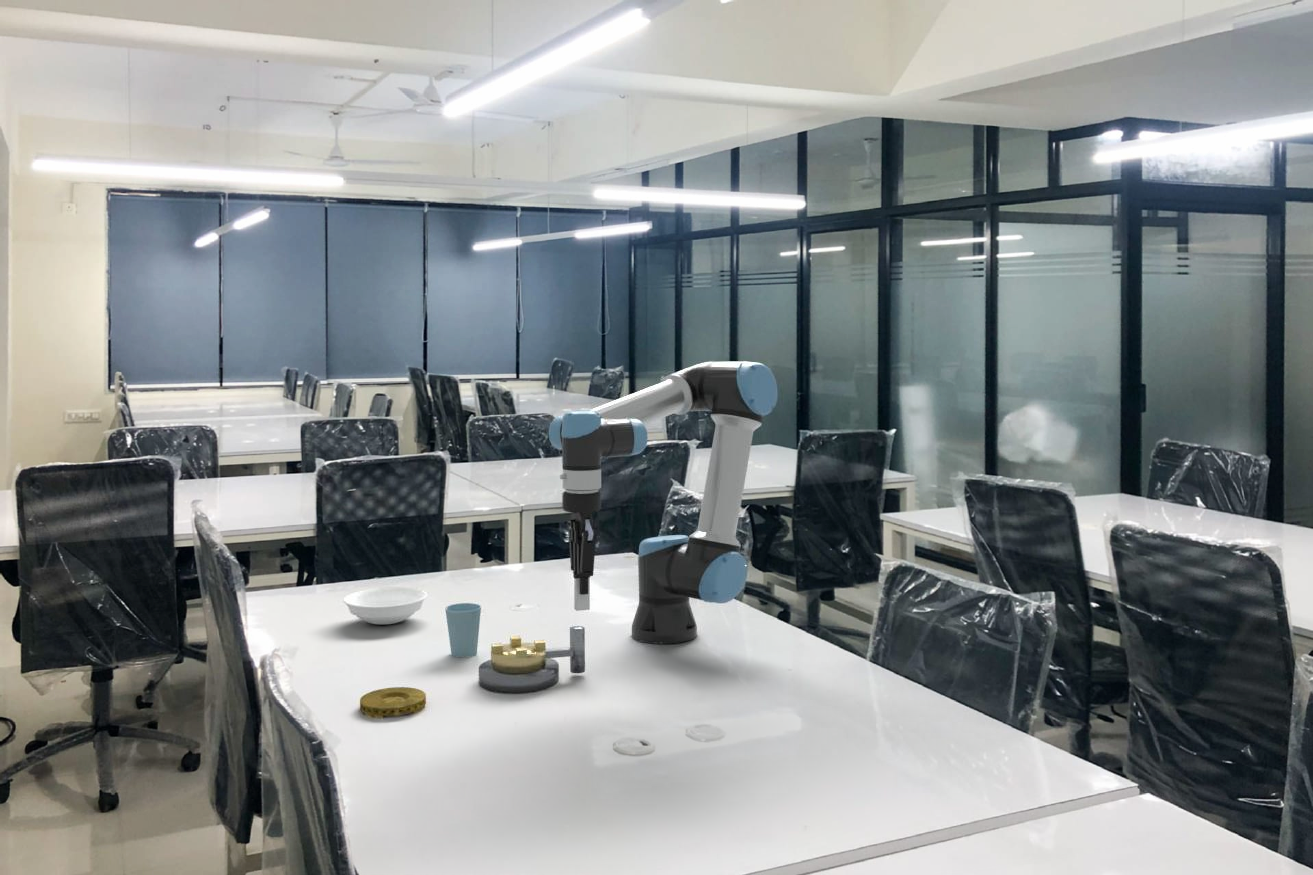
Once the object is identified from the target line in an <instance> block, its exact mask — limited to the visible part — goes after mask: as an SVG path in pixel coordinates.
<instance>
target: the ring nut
mask: <svg viewBox="0 0 1313 875" xmlns="http://www.w3.org/2000/svg"><path fill="white" fill-rule="evenodd" d="M585 629H586V628H585V627H584V626H582V625H574V626H570V627H569V646H565V647H552V648H551V647H550V648H546V641H545V639H538V640H537V639H534V640H533V642H522V638H521V636H520V635H513V636H509V643H505V644H502V642H500V643H499V642H498V643H497V642H496V643H491V644H490V645H491V648H490V660H491V667H492V669H493V670H495V671H498V672H502V673H528V672H533V671H537V670H540V669H542V668H544V667H545V666H546V658H551V659H555V658H566V657H569V666H570V669H569V670H570V673H571V674H583V673H584V672H586V649H585V648H586V647H585V646H586V642H585V641H586V640H585V639H586V638H585V633H586V632H585Z"/></svg>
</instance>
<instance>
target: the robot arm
mask: <svg viewBox="0 0 1313 875" xmlns="http://www.w3.org/2000/svg"><path fill="white" fill-rule="evenodd" d="M777 401H778V385H777V380H776V378H775V377H774V374H773V372H772V371H771V369H770V368H769V367H768V366H766V365H765V364H763V363H761V362H757V361H756V362H754V361H747V360H744V361H717V360H710V361H703V362H701V363H700V362H699V363H697V364H695V365H691V366H689V367H686V368H684V369H681V370H679V371H675V372H673V373H670V374H668V375H666V376H665V377H664V378H663V379H662V381H661V382H660V383H656V384H654V385H652V386H649V387H646V388H644V389H641V390H639V391H637V392H634V393H630V394H629V395H628V394H627V395H626V396H623V397H620V398H618V399H615V400H613V401H611V402H608V403H607V402H606V403H605V404H603V405H600V406H597V407H594V408H593V409H590V410H574V411H573V410H571V411H567V412H565V413H564V414H563V415H559V416H557V417H555V418H554V419H553V420H552V421H551V422H550V425H549V427H548V438H549V442H550V443H551V445H552V447H554V449H557V450H559V451H561V457H562V459H561V460H562V461H561V462H562V474H560V475H559V479H560V480H562V489H563V490H564V491H563V492H562V493H561V494H562V495H561V496H562V510H563V511H564V512H567V513H571V514H570V519H569V521H567V523H566V526H567V531H568V532H567V533H568V544H569V545H568V546H569V558H570V560H569V561H570V570H571V571H572V574H573V585H574V586H573V593H574V597H573V598H574V601H573V602H574V603H573V605H574V607H573V608H574V611H578V612H579V611H589V610H590V608H591V607H590V605H591V604H590V603H591V600H590V598H591V597H590V596H591V595H590V594H591V592H590V591H591V590H590V586H591V585H590V584H591V583H590V582H591V581H590V580H591V579H590V578H591V577H593V576H594V568H595V557H596V556H595V554H596V541H597V537H598V530H597V529H595V521H594V520H593V513H595V512H599V511H600V510H601V508H602V493H601V492H600V491H599V490H600V489H601V488H602V459H605V458H618V457H631V456H636V455H640V454H641V453H642V452H644V450H645V449H646V446H647V444H648V438H649V437H648V430H647V428H646V426H647V425H649V424H652V423H654V422H656V421H659V420H661V419H664V418H666V417H669V416H670V415H673V414H675V415H678V416H682V415H685V414H687V413H689V412H701V411H702V412H711V413H710V418H711V420H712V421H713V422H714V424H715V429H714V433H713V439H712V446H711V451H710V456H709V462H708V468H707V473H706V478H705V479H706V480H705V484H704V491H703V496H702V502H701V507H700V513H699V518H698V524H697V529H696V530H695V531H694V532H693V533H691V534H690V535H689V536H688V535H684V534H675V535H673V534H672V535H661V536H655V537H649V538H645V539H643V540H642V541H641V542H640V543H639V547H638V556H637V562H638V563H637V564H638V567H637V568H638V604H637V607H636V611H635V614H634V617H633V621H632V624H631V637H632V638H633V639H634V640H637V641H640V642H643V643H649V644H656V645H658V644H662V645H663V644H664V645H666V644H667V645H668V644H669V645H670V644H679V643H685V641H686V642H689V641H692V640H693V639H696V638H697V636H698V626H697V622H696V619H695V615H694V613H693V610H692V606H691V604H690V598H691V599H694V600H699V601H703V602H705V603H715V604H727V603H728V602H731V601H733V600H734V599H735V598H736V597H737V596H738V595H739V594H740V592H741V591H742V590H743V588H744V586H745V583H746V582H747V581H746V580H747V576H748V565H747V564H746V563H747V561H746V559H745V557H744V556H743V555H742V554H741V553H740V551H741V547H742V546H741V543H740V542H739V541H738V539H737V536H736V535H737V528H738V522H739V516H740V512H741V506H742V500H743V495H744V494H743V493H744V489H745V483H746V482H745V481H746V477H747V471H748V465H749V460H750V453H751V448H752V443H753V436H754V432H755V430H757V429H758V428H760V427H761V426H762V424H763V419H764V418H763V417H764V416H766V415H768V414H770V413H771V412H772V411H773V409H775V407H776V406H777V405H776V404H777Z"/></svg>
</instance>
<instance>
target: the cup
mask: <svg viewBox="0 0 1313 875" xmlns="http://www.w3.org/2000/svg"><path fill="white" fill-rule="evenodd" d="M481 612H482V606H481V605H480V604H478V603H473V602H461V603H460V602H459V603H453V604H449V605H446V607H445V616H446V623H447V631H448V638H449V647H450V653H451V655H452V657H455V658H469V657H472V656H476V655H477V654H478V645H479V644H478V643H479V633H480V624H481V623H480V621H481Z"/></svg>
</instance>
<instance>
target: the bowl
mask: <svg viewBox="0 0 1313 875" xmlns="http://www.w3.org/2000/svg"><path fill="white" fill-rule="evenodd" d="M427 597H428V594H427V592H426V591H424V590H422V589H418V588H412V587H394V586H393V587H378V588H369V589H364V590H360V591H356V592H352V593H350V594H348V595H346V596H345V597H343V599H342V600H343V601H342V602H343V603H344V604H345V605H346V606H347V608H348V610H349V613H350V614H352V615H353V616H356V618H358V619H360V620H362V621H364V622H366V623H368V624H372V625H391V624H393V625H394V624H397V623H400V622H403V621H405V620H407V619H409V618H410V617H411V616H413V615H414V614H415V613H416V612H418V611H419V610H421V608H422V605H423V603H424V601H425V600H426V599H427Z"/></svg>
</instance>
